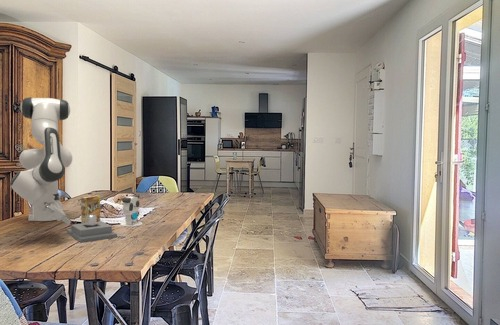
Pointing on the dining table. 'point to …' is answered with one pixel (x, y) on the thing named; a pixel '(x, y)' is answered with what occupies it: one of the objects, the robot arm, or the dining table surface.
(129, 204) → the panda figurine
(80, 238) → the socket housing
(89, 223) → the metal pin
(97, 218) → the candy box
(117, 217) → the dining table surface
